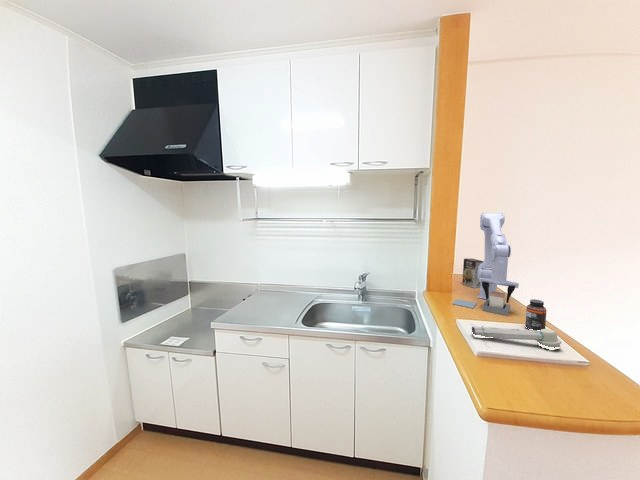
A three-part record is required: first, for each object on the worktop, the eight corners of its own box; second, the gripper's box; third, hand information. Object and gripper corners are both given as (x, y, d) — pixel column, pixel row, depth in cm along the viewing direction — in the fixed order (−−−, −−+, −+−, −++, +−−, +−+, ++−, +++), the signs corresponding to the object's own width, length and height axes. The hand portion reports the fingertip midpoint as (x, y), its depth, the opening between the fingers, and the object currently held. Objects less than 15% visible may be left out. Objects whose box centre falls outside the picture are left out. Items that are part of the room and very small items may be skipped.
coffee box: (461, 284, 165) (463, 258, 163) (470, 283, 166) (471, 258, 165) (473, 288, 156) (475, 261, 154) (482, 287, 158) (484, 260, 156)
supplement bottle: (540, 327, 104) (543, 299, 102) (547, 334, 98) (550, 304, 97) (522, 325, 106) (524, 297, 104) (528, 331, 100) (531, 302, 99)
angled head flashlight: (471, 323, 98) (555, 324, 89) (472, 341, 99) (557, 344, 90) (473, 329, 94) (563, 331, 84) (475, 347, 94) (564, 351, 85)
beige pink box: (490, 307, 125) (491, 291, 124) (503, 310, 122) (504, 293, 121) (489, 310, 121) (490, 293, 120) (502, 313, 118) (503, 295, 117)
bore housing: (486, 305, 128) (486, 300, 128) (510, 309, 122) (510, 304, 122) (482, 310, 121) (482, 305, 121) (507, 316, 115) (508, 310, 115)
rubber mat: (456, 299, 136) (456, 298, 136) (477, 303, 130) (477, 302, 130) (452, 304, 129) (452, 303, 129) (473, 308, 124) (473, 307, 123)
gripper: (479, 270, 121) (477, 299, 123) (518, 275, 112) (516, 306, 113) (481, 267, 126) (480, 295, 128) (519, 272, 117) (517, 302, 119)
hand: (497, 300), depth 121 cm, fingers open, 7 cm apart
